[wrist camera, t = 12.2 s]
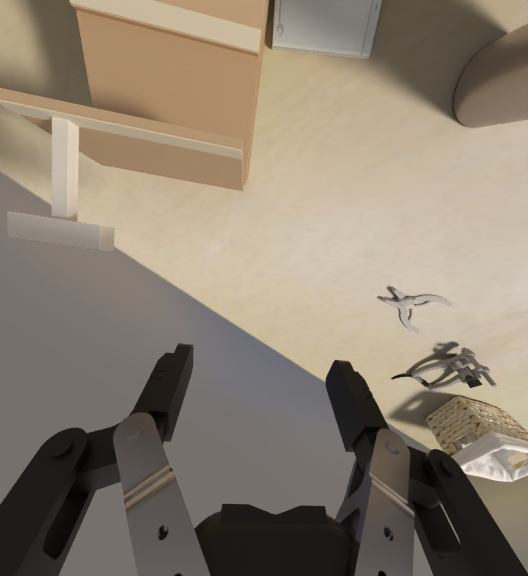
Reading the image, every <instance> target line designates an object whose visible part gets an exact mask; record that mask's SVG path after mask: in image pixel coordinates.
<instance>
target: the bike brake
mask: <svg viewBox="0 0 528 576" xmlns="http://www.w3.org/2000/svg"><path fill="white" fill-rule="evenodd" d="M461 350H462V351H461V352H462V353H461V354H459V355H456V356H453V357H451V358H448V359H446V360H443V361H439V362H436V363H432V364H429V365H426V366H423V367H421V368H419V369H416V370H414V371H412V372H411V375H398V376H395V377H393V378H391V379H395V378H399V377H414V378H415V379H416V380H417V381H418V382H420V383H422V384H423V385H425V386H427V387H428V388H429V390H430V391H434V390H436V389H440V388H444V387H448V386H451V385H453V384H456V383H458V382H461V381H462V382H463V383H464V384H465V383H467V384H468V385H469V387H470V388H473V387H476V386H479V385H482V383H481V382H480V381H479V380H478V379H482V378H481V376H480V375H483V376H484V377H485V378H486V380H487V381H488V382H489V383H490V385H491V386H492V387H495V386H497V385H496V383H495V382H494V381H493V380H492V379H491V377H490V376H489V375H488V373H489V372H490V370H489V368H488V367H486V366H484V367H483V365H480V364H479V363H478V362H477V361H476V360H475V358H474V357H475V354H474V352H473V351H471V350H469V349H466V348H462V349H461ZM469 360H470V361H471V362H472V363H471V362H470V361H469ZM472 364H473V365H474V366H475V368H476V369H473V370H471V369H470V368H469V367H468V366H469V365H472ZM446 367H451V368H452V370H453V371H454V370H456V371H457V372H458V373H459V374H457V375H456V376H454V377H452V378H451V379H449V380H447V381H445V382H442V383H438V384H434V385H432V384H428V383H427V382H426V381H425V380H423V379H421V377H420V376H419V375H420V374H422V373H424V372H427V371H429V370H433V369H438V368H446Z"/></svg>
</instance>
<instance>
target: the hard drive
mask: <svg viewBox="0 0 528 576" xmlns="http://www.w3.org/2000/svg"><path fill="white" fill-rule="evenodd" d="M381 4H382V0H274V15H273V32H272V50H279V51H288V52H298V53H307V54H317V55H326V56H336V57H346V58H356V59H366V60H367V59H368V58H369V56H370V53H371V49H372V45H373V40H374V36H375V31H376V27H377V22H378V18H379V13H380V9H381Z"/></svg>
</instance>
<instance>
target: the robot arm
mask: <svg viewBox="0 0 528 576" xmlns="http://www.w3.org/2000/svg"><path fill="white" fill-rule="evenodd" d="M454 112H455V115H456V117H457V119H458V121H459V122H460V123H461V124H463V125H464V126H466V127H470V128H477V127H484V126H490V125H497V124H504V123H510V122H516V121H522V120H528V24H526V25H524V26H522V27H520V28H518V29H516V30H515V31H513V32H511V33H509V34H507V35H505V36H503V37H501V38H499V39H497V40H495V41H493V42H492V43H490V44H488V45H487V46H485V47H484V48H483V49H482V50H480V51H479V52H478V53H477V54H476V55H475V56H474V58H473V59H472V60H471V61H470V62H469V64H468V65H467V67H466V68H465V70H464V72H463V73H462V75H461V77H460V79H459V82H458V84H457V87H456V91H455V95H454ZM192 368H193V345H190V344H180V343H179V344H178V345H177V347H176V350H175V352H174V353H165V354H164V355H163V356H162V357H161V358H160V359H159V360H158V361H157V363H156V365H155V367H154V370H153V371H152V373H151V375H150V378H149V379H148V381H147V383H146V385H145V387H144V389H143V392H142V393H141V395H140V397H139V399H138V401H137V403H136V405H135V407H134V409H133V411H132V412H131V413H130V415H129V416H128V417H127V418H125V419H124V420H123V421H122V422H120V423H119V424H117V425H115V426H112V427H110V428H106V429H102V430H98V431H94V432H90V433H86V432H85V431H84V430H82V429H80V428H69V429H66V430H63V431H61V432H58V433H57V434H55V435H54V436H52V437H51V438H49V439H48V440H47V441H46V442H45V443H44V444H43V445H42V446H41V447H40V449H39V450H38V452H37V453H36V455H35V456H34V457H33V459H32V460H31V462H30V463H29V465H28V466H27V467H26V469H25V470H24V472H23V473H22V474H21V476H20V477H19V479H18V480H17V482H16V483H15V484H14V486H13V487H12V489H11V490H10V492H9V493H8V495H7V496H6V498H5V499H4V500H3V502H2V503H1V504H0V576H58V575H59V573H60V571H61V568H62V566H63V564H64V562H65V560H66V557H67V555H68V553H69V550H70V548H71V546H72V543H73V541H74V539H75V537H76V535H77V532H78V530H79V528H80V525H81V523H82V521H83V518H84V516H85V514H86V512H87V510H88V507H89V505H90V503H91V501H92V498H93V496H94V494H95V491H96V490H98V489H101V488H104V487H107V486H109V485H112V484H115V483H118V482H121V483H122V488H123V494H124V505H125V511H126V517H127V522H128V527H129V532H130V537H131V542H132V547H133V553H134V558H135V563H136V568H137V573H138V576H413V575H412V574H413V550H414V527H415V530H416V532H417V535H418V537H419V540H420V542H421V545H422V547H423V550H424V553H425V555H426V557H427V560H428V562H429V565H430V568H431V570H432V573H433V575H434V576H528V573H527V572H526V570H525V568H524V567H523V565H522V564H521V562H520V561H519V559H518V558H517V556H516V554H515V553H514V551H513V549H512V548H511V546H510V545H509V543H508V541H507V540H506V538H505V537H504V535H503V534H502V532H501V530H500V529H499V527H498V525H497V524H496V522H495V521H494V519H493V518H492V516H491V514H490V513H489V511H488V510H487V508H486V506H485V505H484V503H483V502H482V500H481V498H480V497H479V496H478V494H477V492H476V490H475V489H474V487H473V486H472V484H471V483H470V481H469V479H468V478H467V477H466V475H465V473H464V471H463V470H462V468H461V467H460V466H459V464H458V463H457V462H456V461H455V460H454V459H453V458H452V457H451V456H449V455H448V454H447V453H445V452H443V451H441V450H437V449H433V450H431V451H430V452H429V453H424V452H422V451H419V450H417V449H414V448H412V447H409V446H408V445H406V443H405V442H404V440H403V439H402V438H401V437H400V436H399V435H397V434H396V433H395V432H393V431H391V430H390V429H389V427H388V425H387V423H386V421H385V419H384V417H383V415H382V413H381V411H380V409H379V407H378V405H377V403H376V401H375V399H374V398H373V395H372V393H371V391H370V390H369V387H368V385H367V383H366V381H365V379H364V378H363V377H362V376H361V375H360V374H359V373H358V372H355V371H354V370H353V367H352V365H351V363H350V362H349V361H341V360H335V361H334V362H333V364H332V366H331V368H330V370H329V372H328V374H327V377H326V389H327V392H328V395H329V398H330V402H331V405H332V408H333V411H334V415H335V418H336V421H337V424H338V428H339V431H340V434H341V437H342V441H343V444H344V447H345V450H346V452H354V453H355V456H356V459H355V461H354V464H353V468H352V471H351V475H350V479H349V483H348V486H347V489H346V493H345V497H344V500H343V502H342V504H341V507H340V508H339V511H338V513H337V515H336V518H335V519H333V518H331V517H330V516H328V515H326V510H325V506H299V507H296V508H294V509H291V510H288V511H285V512H283V513H280V514H277V515H274V514H271V513H269V512H266V511H264V510H261V509H259V508H256V507H254V506H251V505H248V504H222V509H221V511H220V512H217V513H215V514H213V515H211V516H209V517H208V518H206V519H205V520H203V521H202V522H201V523H200V524H199V525H198V526H197V527H196V528H195V529H194V527H193V525H192V522H191V519H190V516H189V513H188V510H187V508H186V505H185V502H184V499H183V496H182V493H181V491H180V488H179V485H178V482H177V479H176V477H175V474H174V472H173V470H172V468H171V467H170V465H169V462H168V459H167V456H166V454H165V451H164V448H163V442H164V441H171V439H172V435H173V432H174V428H175V426H176V422H177V419H178V416H179V413H180V409H181V406H182V403H183V400H184V397H185V393H186V390H187V387H188V383H189V380H190V377H191V373H192ZM441 503H442V505H443V507H444V509H445V511H446V513H447V515H448V517H449V519H450V521H451V523H452V525H453V527H454V529H455V531H456V533H457V535H458V537H459V540H460V544H459V542H458V540H457V538H456V536H455V534H454V532H453V530H452V528H451V526H450V524H449V522H448V520H447V518H446V515H445V513H444V512H443V509H442V508H441V505H440V504H441ZM460 545H461V546H460Z"/></svg>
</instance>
